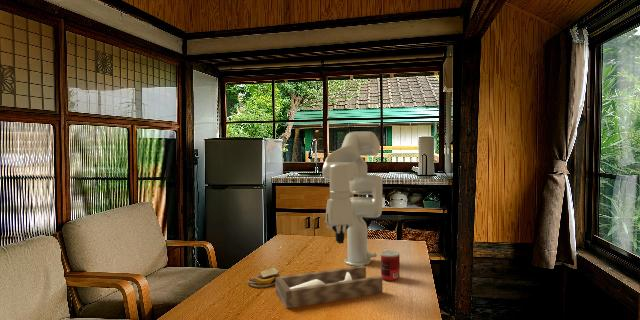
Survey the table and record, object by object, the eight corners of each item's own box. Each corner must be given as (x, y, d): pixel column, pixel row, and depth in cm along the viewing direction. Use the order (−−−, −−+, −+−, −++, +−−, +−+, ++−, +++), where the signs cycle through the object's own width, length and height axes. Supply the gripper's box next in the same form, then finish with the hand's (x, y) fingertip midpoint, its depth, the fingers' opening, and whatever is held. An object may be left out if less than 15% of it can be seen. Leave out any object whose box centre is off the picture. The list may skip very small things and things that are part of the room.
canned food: (400, 276, 169) (400, 251, 169) (398, 282, 162) (398, 256, 161) (383, 274, 172) (382, 249, 171) (379, 280, 164) (379, 254, 164)
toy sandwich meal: (247, 279, 169) (247, 268, 169) (278, 276, 171) (278, 266, 171) (247, 290, 157) (247, 278, 156) (281, 287, 159) (281, 275, 159)
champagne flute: (352, 293, 150) (291, 308, 143) (345, 281, 156) (286, 294, 148) (353, 280, 147) (291, 295, 140) (346, 268, 153) (286, 281, 145)
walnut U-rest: (363, 279, 166) (363, 265, 165) (382, 293, 151) (382, 277, 150) (275, 292, 153) (275, 277, 152) (286, 308, 138) (286, 291, 137)
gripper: (353, 193, 158) (353, 238, 159) (318, 195, 153) (318, 242, 154) (361, 195, 151) (361, 243, 152) (324, 198, 146) (325, 247, 146)
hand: (340, 242), depth 153 cm, fingers closed
